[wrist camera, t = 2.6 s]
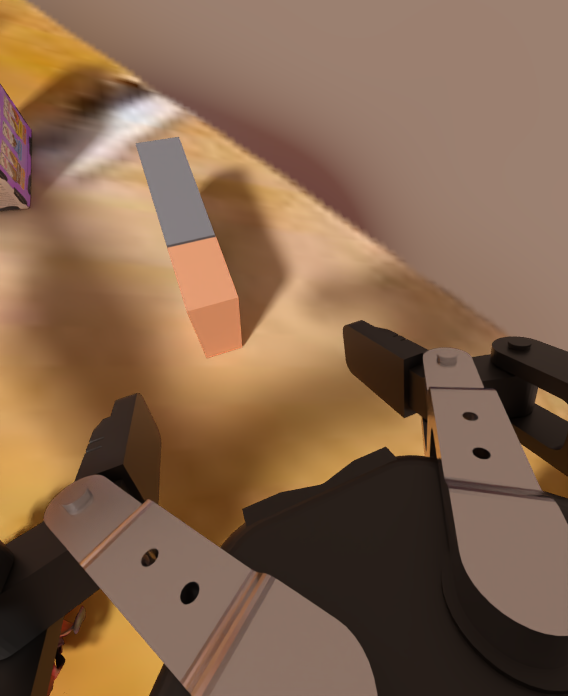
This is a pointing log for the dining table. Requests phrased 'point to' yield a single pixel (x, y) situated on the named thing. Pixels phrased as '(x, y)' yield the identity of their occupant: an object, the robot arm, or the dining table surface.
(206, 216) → the gray block
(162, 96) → the dining table surface
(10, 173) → the candy box
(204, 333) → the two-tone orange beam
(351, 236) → the dining table surface
